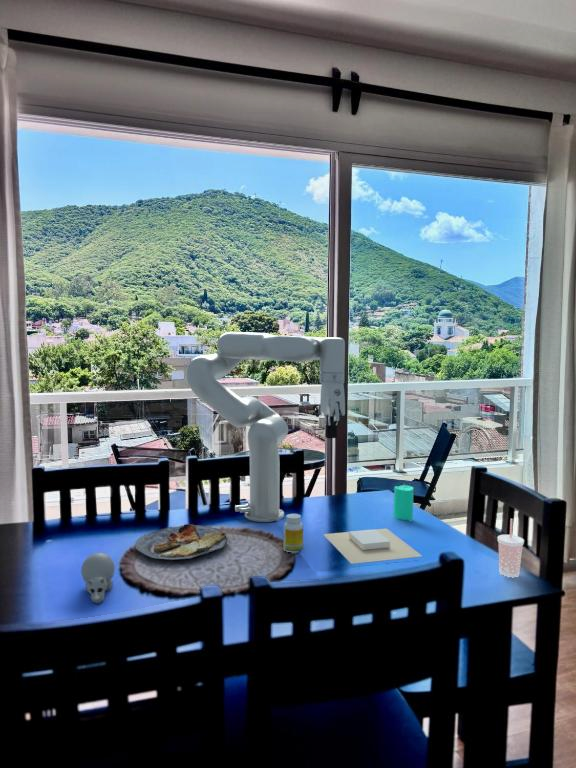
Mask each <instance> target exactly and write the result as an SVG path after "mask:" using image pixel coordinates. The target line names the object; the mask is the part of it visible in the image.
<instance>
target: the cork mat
mask: <svg viewBox="0 0 576 768" xmlns="http://www.w3.org/2000/svg"><path fill="white" fill-rule="evenodd" d="M375 530H377V531H378V532H379V533H380V534H382V535H383V536H384V537H385V538H387V539H388V540H389V541H390V547H389V548H388V549H378V550H368V551H362V550H361V549H360V548H359V547H358V546H357V545H356V544H355V543H354V542H353V541H352V540H351V539H350V538H349V532H350V531H345V532H334V533H324V534H323V533H322V534H323V536H324V537H325V538H326V539H327V540H328V541H329V542H330V543H331V545H333V546H334V548H335V549H336V550H337V551H338V552H339V553H341V555H342V556H343V557H344V558H345V559H346V560H347V561H348V562H349V564H351V565H354V564H363V563H364V564H365V563H373V562H383V561H391V560H401V559H411V558H419V557H423V555H422V554H420V553H419V552H418V551H416V549H414V548H413V547H411V546H410V545H409V544H407V543H406V542H405V541H403V540H402V539H401V538H400V537H398V536H397V535H396V534H395V533H393V532H392V531H391V530H389V529H388V528H380V529H378V528H377V529H375ZM414 561H415V562H416V561H418V560H416V559H414ZM405 562H406V563H407V562H408V560H406V561H405ZM395 563H399V562H397V561H396V562H395ZM387 564H390V563H388V562H387V563H386V565H387Z"/></svg>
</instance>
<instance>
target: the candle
mask: <svg viewBox="0 0 576 768" xmlns="http://www.w3.org/2000/svg"><path fill="white" fill-rule="evenodd" d="M414 489H415V488H414V487H413V486H411V485H406V484H403V485H399V486H398V485H397V486H394V488H393V490H394V492H393V518H395V519H397V520H404V521H409V522H410V523H412V522H413V520H414V519H413V518H414V517H413V516H414Z"/></svg>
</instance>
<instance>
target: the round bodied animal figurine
mask: <svg viewBox="0 0 576 768" xmlns="http://www.w3.org/2000/svg"><path fill="white" fill-rule="evenodd" d="M80 573H81V577H82V580H83V581H84V582H85V590H86V592H88V593H89V594H90V595H91V596H90V597H91V598H90V599H91V601H92V603H95V604H100V603H101V602H103V601H104V599H105V593H106V592H107V591H110V590H111V589H112V588H113V581H112V578H113V577H114V573H115V562H114V561H113V559H112V558H111V556H109V555H108V554H106V553H104V552H95V553H93V554H90V555H89V556H87V557H86V558H85V560H84V561H83V563H82V565H81V570H80Z"/></svg>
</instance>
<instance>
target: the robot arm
mask: <svg viewBox="0 0 576 768" xmlns="http://www.w3.org/2000/svg"><path fill="white" fill-rule="evenodd" d="M216 348H217V350H216V351H215V352H214V353H213V354H212V353H211V354H203V355H198V356H195V357H194V358H193V359H191V361H190V362H189V364H188V365H187V369H186V379H187V383H188V386H189V388H190V389H191V391H192V392H193V394H194V395H195V396H196V397H198V399H200V401H202V402H203V403H205V404H206V405H207V406H209V408H211V409H212V410H213V411H214V412H215V413H217V414H218V415H219V416H221V417H222V419H224V420H225V421H227V422H228V424H230V425H231V426H233V427H235V428H241V429H242V428H245V427H249V429H248V432H247V444H248V445H247V446H248V453H249V500H248V501H247V503H244V504H242V505H241V504H239V505H238V504H237V505H236V504H235V505H234V510H235V512H239V513H240V514H241V513H244V517H245V518H246V519H247V520H249V521H251V522H252V521H253V522H256V523H257V522H258V523H259V522H260V523H271V522H277V521H279V520H282V519H283V518H284V517H285V512H284V510H283V509H280V476H281V475H280V473H281V471H280V453H279V448H278V447H279V444H280V443H282V442H283V441H284V440H285V439H287V436H288V433H289V426H288V423H287V422H286V420H285V419H284V418H283V416H281V415H280V414H279V413H278V412H276V411H275V410H274V409H272V408H271V407H270V406H268V405H267V404H265V402H263V401H261V400H260V399H259V398H257V397H255V396H252V395H246V396H240V395H239V394H237V393H235V392H234V391H232V390H231V389H230V387H228V386H226V385H225V384H223V383H221V382H219V381H218V380H220V379H222V378H224V377H226V376H227V375H228V374H229V373H231V371H233V369H235V368H236V367H237V366H238V365H239V364H241V363H242V362H243V360H255V361H256V360H259V361H279V362H297V363H298V362H299V363H301V362H302V363H304V362H309V361H310V362H311V361H319V383H320V384H321V387H320V401H319V402H320V403H319V404H320V412H321V413H322V414H323V417H324V423H325V424H324V425H325V427H324V428H325V432H324V433H325V435H324V436H325V438H327V439H337V438H338V422H339V421H340V417H343V416H345V414H346V396H345V387H344V383H345V362H346V361H345V360H346V359H345V358H346V357H345V356H346V354H345V353H346V341H345V339H344V338H343V337H335V336H334V337H333V336H332V337H331V336H330V337H327V336H326V337H318V336H317V337H316V336H312V335H311V336H306V335H305V336H295V335H294V336H293V335H274V334H271V333H268V332H244V331H227V332H224V333H223V334H221V335H220V336H219V337H218V339H217V343H216Z"/></svg>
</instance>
